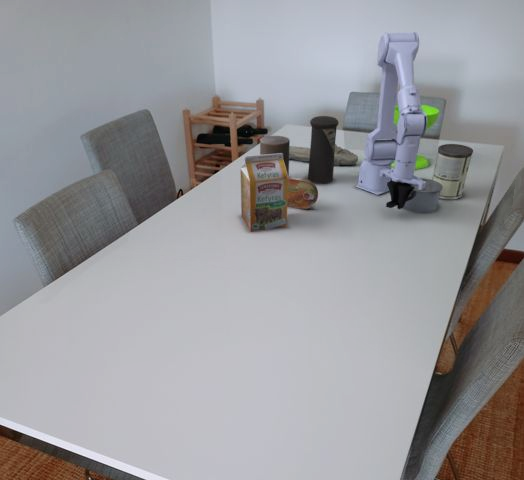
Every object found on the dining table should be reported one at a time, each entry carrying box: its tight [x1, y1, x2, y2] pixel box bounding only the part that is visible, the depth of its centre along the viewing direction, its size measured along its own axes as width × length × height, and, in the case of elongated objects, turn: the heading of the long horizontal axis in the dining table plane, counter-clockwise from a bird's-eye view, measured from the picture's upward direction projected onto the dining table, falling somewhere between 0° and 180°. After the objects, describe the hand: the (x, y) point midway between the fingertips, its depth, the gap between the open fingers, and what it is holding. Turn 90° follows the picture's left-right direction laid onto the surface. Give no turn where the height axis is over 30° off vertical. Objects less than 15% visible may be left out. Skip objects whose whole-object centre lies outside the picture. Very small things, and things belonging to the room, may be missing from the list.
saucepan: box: [385, 177, 443, 213], centre depth 152 cm, size 12×22×8 cm, turn 131°
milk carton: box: [240, 153, 288, 233], centre depth 141 cm, size 11×11×19 cm
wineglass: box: [391, 104, 440, 170], centre depth 183 cm, size 16×16×18 cm
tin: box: [287, 176, 319, 210], centre depth 154 cm, size 15×3×8 cm, turn 62°
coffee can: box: [431, 143, 474, 200], centre depth 160 cm, size 10×10×14 cm
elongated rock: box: [289, 143, 359, 167], centre depth 189 cm, size 35×5×10 cm
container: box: [307, 115, 340, 185], centre depth 167 cm, size 9×9×20 cm
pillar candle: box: [259, 135, 290, 177], centre depth 168 cm, size 10×10×15 cm
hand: (397, 206), depth 149 cm, fingers closed on saucepan
